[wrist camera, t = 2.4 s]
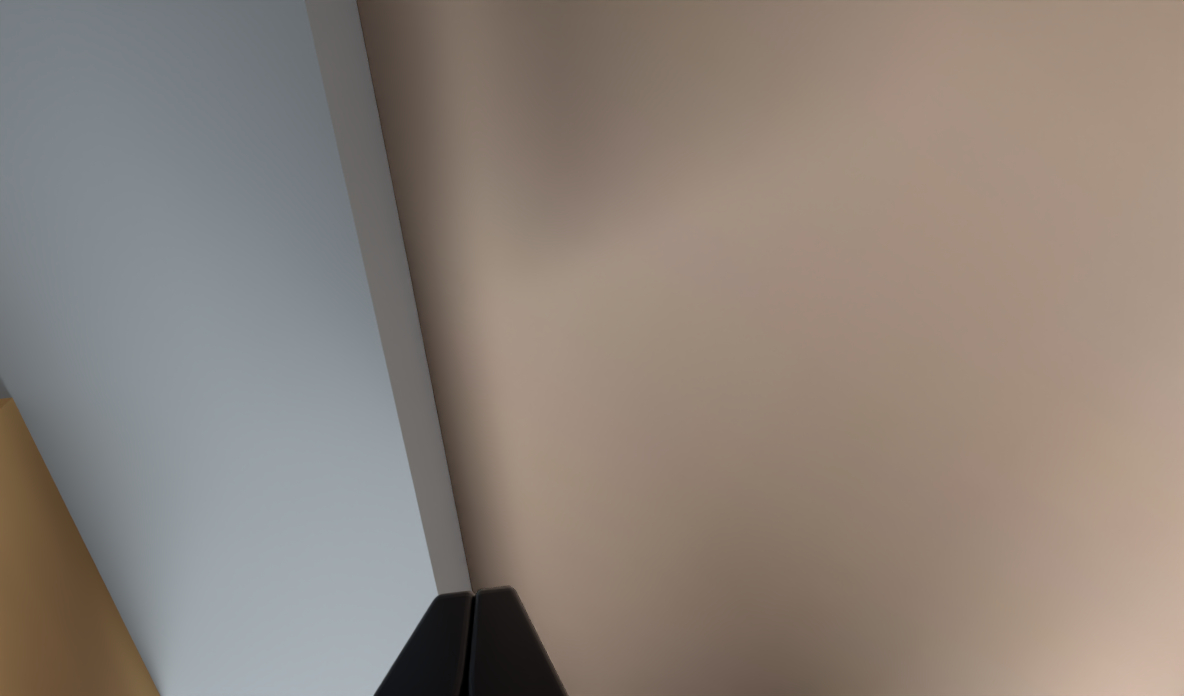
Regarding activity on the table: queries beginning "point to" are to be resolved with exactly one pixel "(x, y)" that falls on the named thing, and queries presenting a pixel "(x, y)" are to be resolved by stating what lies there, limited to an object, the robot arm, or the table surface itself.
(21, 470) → the block
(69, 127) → the box
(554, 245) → the table surface
